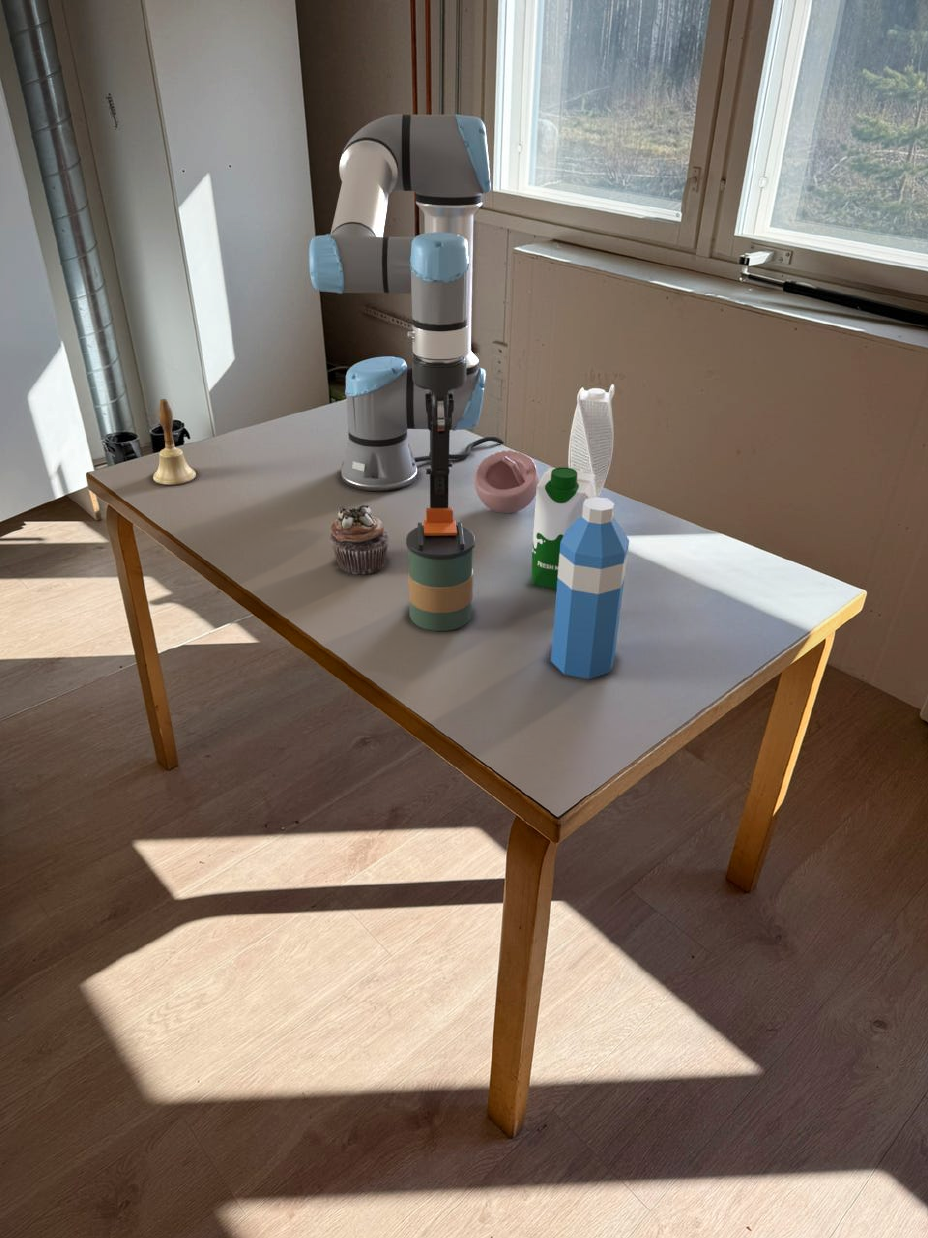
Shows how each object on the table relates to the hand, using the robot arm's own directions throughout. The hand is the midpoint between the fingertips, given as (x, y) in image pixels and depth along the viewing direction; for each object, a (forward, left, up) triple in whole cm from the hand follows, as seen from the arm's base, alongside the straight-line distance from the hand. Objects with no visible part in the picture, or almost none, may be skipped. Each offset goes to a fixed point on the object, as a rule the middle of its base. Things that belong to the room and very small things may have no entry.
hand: (439, 510), depth 139 cm
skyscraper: (-35, +1, -16) cm, 38 cm away
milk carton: (-19, +9, -16) cm, 26 cm away
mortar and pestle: (-31, -15, -16) cm, 38 cm away
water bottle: (-4, +27, -16) cm, 31 cm away
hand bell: (+8, -70, -16) cm, 72 cm away
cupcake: (+2, -17, -16) cm, 23 cm away
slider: (+2, +2, -2) cm, 3 cm away
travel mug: (+3, +4, -15) cm, 16 cm away
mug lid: (+3, +4, -3) cm, 6 cm away
